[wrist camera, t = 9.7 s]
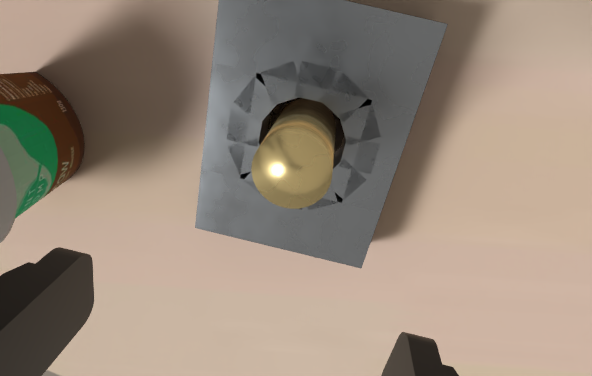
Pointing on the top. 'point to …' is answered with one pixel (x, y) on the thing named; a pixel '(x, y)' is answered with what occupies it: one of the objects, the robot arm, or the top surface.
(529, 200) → the top surface
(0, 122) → the food container
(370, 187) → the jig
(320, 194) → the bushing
